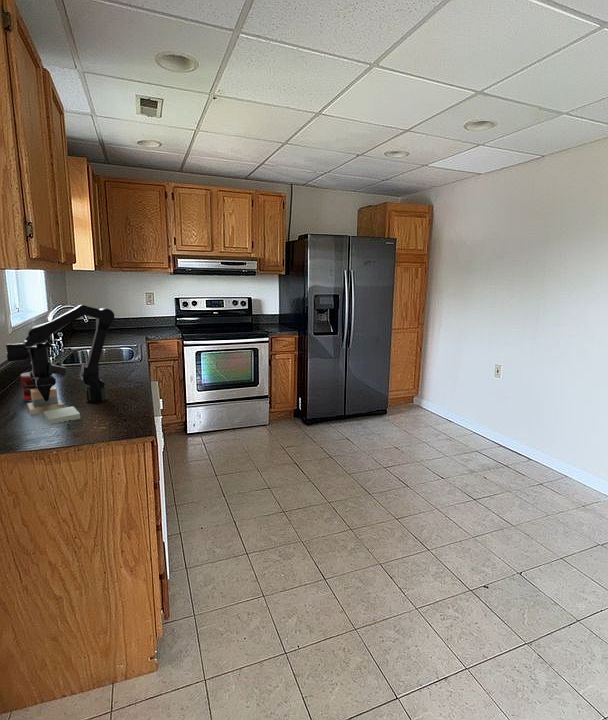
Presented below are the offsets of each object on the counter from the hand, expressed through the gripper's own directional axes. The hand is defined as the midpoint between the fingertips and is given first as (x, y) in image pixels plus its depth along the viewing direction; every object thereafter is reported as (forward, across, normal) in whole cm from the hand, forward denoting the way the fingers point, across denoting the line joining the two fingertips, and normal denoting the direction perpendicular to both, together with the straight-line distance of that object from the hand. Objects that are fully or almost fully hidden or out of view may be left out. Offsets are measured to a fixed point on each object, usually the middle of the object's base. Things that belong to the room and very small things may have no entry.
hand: (44, 398), depth 164 cm
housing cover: (-1, 0, 0) cm, 1 cm away
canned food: (+4, +18, +2) cm, 19 cm away
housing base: (+2, 0, 0) cm, 2 cm away
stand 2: (+4, -16, -3) cm, 16 cm away
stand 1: (+4, 0, 0) cm, 4 cm away
